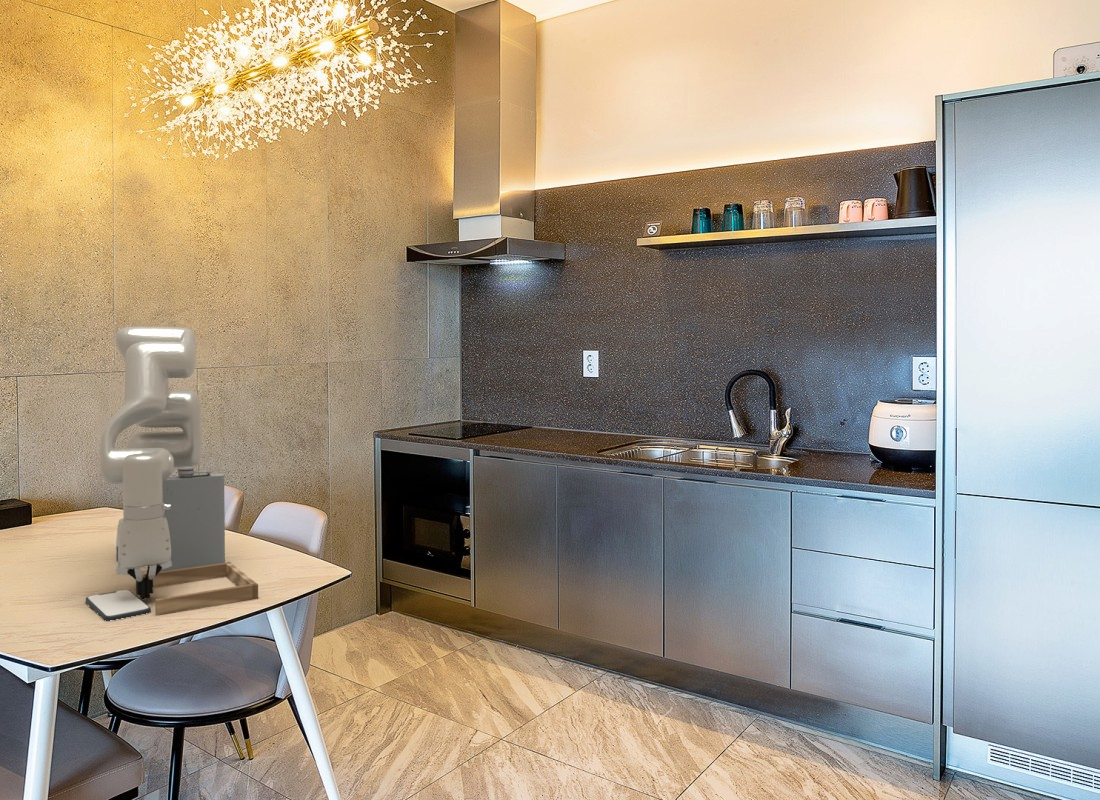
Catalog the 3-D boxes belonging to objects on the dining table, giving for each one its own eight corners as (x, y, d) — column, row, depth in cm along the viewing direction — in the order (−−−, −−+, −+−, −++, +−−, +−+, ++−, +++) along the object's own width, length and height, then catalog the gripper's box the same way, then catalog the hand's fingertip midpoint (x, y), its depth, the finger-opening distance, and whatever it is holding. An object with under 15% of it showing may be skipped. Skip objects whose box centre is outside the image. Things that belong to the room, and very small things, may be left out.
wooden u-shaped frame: (136, 588, 183) (136, 575, 183) (230, 574, 195) (230, 562, 195) (156, 615, 166) (156, 600, 166) (258, 598, 178) (258, 584, 178)
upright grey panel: (220, 561, 207) (219, 462, 205) (227, 565, 203) (226, 464, 201) (146, 573, 195) (144, 468, 194) (151, 577, 192) (149, 471, 190)
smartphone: (153, 615, 168) (129, 595, 179) (153, 608, 168) (129, 588, 179) (105, 625, 162) (83, 603, 173) (105, 617, 162) (83, 596, 173)
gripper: (177, 505, 181) (178, 587, 182) (100, 512, 172) (102, 599, 173) (185, 511, 175) (186, 596, 176) (106, 519, 166) (108, 608, 167)
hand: (144, 597), depth 175 cm, fingers closed
